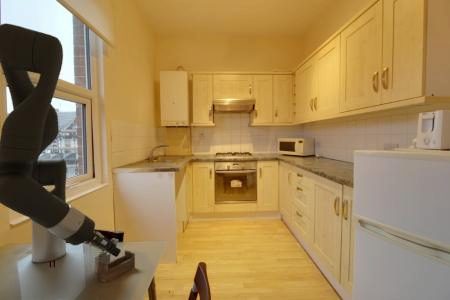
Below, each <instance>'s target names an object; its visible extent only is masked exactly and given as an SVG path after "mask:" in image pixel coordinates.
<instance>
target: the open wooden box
mask: <svg viewBox="0 0 450 300" xmlns="http://www.w3.org/2000/svg"><path fill="white" fill-rule="evenodd" d="M135 268H136V253H135V252H134V251H130V250H129V249H128V250H127V249H125V250H124V255H122V256H121V257H118V258H115V259H113V260H112V261H111V260H110V262H109V263H107V264H104V263H102V262H98V273H97V279H98V280H100V281H102V282H104V283H108V282H110V281H112V280H115V279H116V278H118V277H120V276H122V275H124V274H125V273H128V272H129V271H131V270H132V269H135Z"/></svg>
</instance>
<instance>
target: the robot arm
mask: <svg viewBox="0 0 450 300" xmlns="http://www.w3.org/2000/svg"><path fill="white" fill-rule="evenodd" d="M63 61H64V50H63V45H62V42H61V41H60V39H59V38H58V37H56V36H54V35H51V34H49V33H45V32H41V31H37V30H34V29H31V28H27V27H23V26H20V25H16V24H11V23H2V24H0V66H1V69H2V72H3V76H4V78H5V81H6V85H7V87H8V91H9V93H10V98H11V102H12V104H11V105H12V108H13V110H12V111H10V113H9V114H8V115H7V116H6V118H5V119H4V121H3V123H2V126H1V132H0V204H1V205H3V206H4V207H6V208H8V209H9V210H12V211H13V212H16V213H18V214H20V215H22V216H25V217H27V218H29V219H30V220H31V262H33V263H46V262H51V261H54V260H55V261H56V260H57V259H60V258H62V257H63V256H65V254H66V253H67V243H68V244H70V245H72V246H79V245H81V244H85V245H87V246H89V247H93V248H94V249H97V250H99V251H100V252H103V251H106V252H107V253H110V255H112V256H114V257H115V258H117V257H118V256H119V255H120V254H121V252H122V250H121V248H119V247H118V246H116V244H115V243H113V242H112V241H111V239H109V238H108V237H107V236H104V235H103V234H102V233H101V232H99V231H98V230H95V228H96V223H95V221H94V220H93V219H92V218H90V217H89V216H87V215H86V214H84V213H83V212H82V211H81V210H79V209H77V208H75V207H74V206H73V205H70V204H69V203H67V200H66V198H67V197H66V189H67V188H66V184H67V171H68V170H67V162H66V160H65V159H64V158H61V157H60V158H59V157H56V158H39V157H40V156H41V155H42V153H43V152H44V151H45V150H47V149H48V148H49V146H51V145H52V144H53V142H54V141H55V140H56V139H57V137H58V136H59V132H60V130H59V129H60V127H59V117H58V113H57V111H56V109H55V108H54V106H53V105H52V102H53V99H54V95H55V92H56V87H57V85H58V82H59V78H60V76H61V75H60V74H61V71H62V68H63ZM29 73H33V74H39V78H38V81H37V84H36V85H35V84H34V82H33V80H32V78H31V77H30V74H29ZM51 186H53V187H54V188H53V189H51V190H50V191H49V190H48V189H46V188H45V187H51Z"/></svg>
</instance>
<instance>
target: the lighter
mask: <svg viewBox="0 0 450 300" xmlns="http://www.w3.org/2000/svg"><path fill="white" fill-rule="evenodd" d="M110 241H112V242H113V243H115V244H116V247H118V246H117V245H118V244H119V239H117V238H114V237H113V238H111V239H110ZM98 262H102V263H104V264H107V263H109V262H111V254H110V253H107V252H106V251H100V252H99V254H98V256H95V257H94V273H96V274H98Z"/></svg>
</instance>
